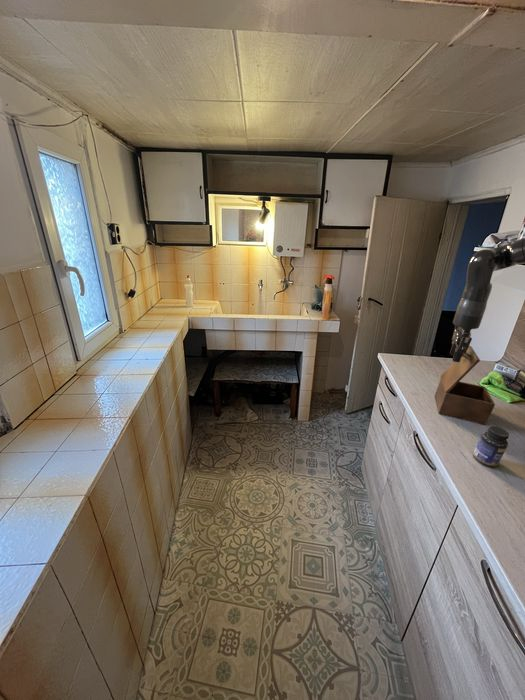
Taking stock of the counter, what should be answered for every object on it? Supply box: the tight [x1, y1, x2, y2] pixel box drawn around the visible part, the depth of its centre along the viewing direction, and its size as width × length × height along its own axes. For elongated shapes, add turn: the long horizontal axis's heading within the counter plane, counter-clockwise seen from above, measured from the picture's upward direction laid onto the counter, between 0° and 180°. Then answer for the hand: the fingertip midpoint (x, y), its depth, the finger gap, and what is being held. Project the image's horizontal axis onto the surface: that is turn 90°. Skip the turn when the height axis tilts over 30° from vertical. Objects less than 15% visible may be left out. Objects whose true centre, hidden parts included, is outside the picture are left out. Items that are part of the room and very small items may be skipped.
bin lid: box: [440, 345, 481, 393], centre depth 102 cm, size 15×13×5 cm
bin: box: [434, 378, 496, 426], centre depth 105 cm, size 15×13×9 cm
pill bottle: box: [472, 425, 510, 468], centre depth 81 cm, size 6×6×11 cm
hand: (454, 358), depth 100 cm, fingers closed on bin lid, 5 cm apart
